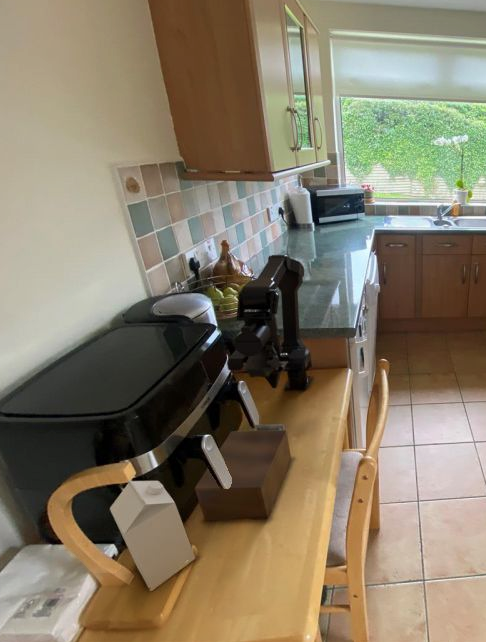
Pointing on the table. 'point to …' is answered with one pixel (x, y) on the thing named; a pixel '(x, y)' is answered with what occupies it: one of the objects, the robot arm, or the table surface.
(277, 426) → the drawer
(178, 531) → the milk carton
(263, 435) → the brown wooden block
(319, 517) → the table surface
